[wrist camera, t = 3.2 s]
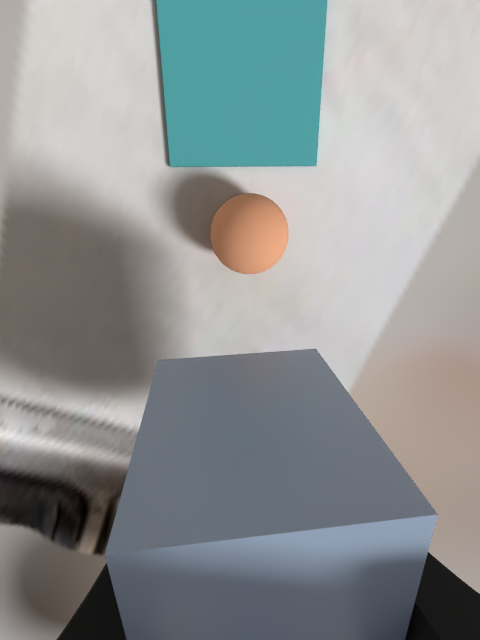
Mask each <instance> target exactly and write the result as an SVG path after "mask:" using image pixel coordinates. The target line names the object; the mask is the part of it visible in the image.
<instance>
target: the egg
mask: <svg viewBox="0 0 480 640" xmlns="http://www.w3.org/2000/svg"><path fill="white" fill-rule="evenodd" d="M210 238H211V244H212V247H213V250H214V252H215V254H216V256H217V257H218V259H219V260H220V261H221V262H222V263H223V264H224V265H225V266H226V267H228V268H229V269H231V270H233V271H235V272H239V273H243V274H256V273H260V272H263V271H265V270H267V269H269V268H270V267H272V266H273V265H274V264H275V263H277V261H278V260H279V259H280V258H281V256H282V255H283V253H284V251H285V249H286V246H287V242H288V225H287V221H286V218H285V216H284V214H283V212H282V210H281V209H280V208H279V207H278V205H277V204H275V203H274V202H273V201H272V200H270V199H269V198H267V197H265V196H262V195H259V194H253V193H246V194H240V195H237V196H235V197H232V198H231V199H229V200H228V201H226V202H225V203H224V204H223V205H222V206H221V207H220V208H219V209H218V211H217V212H216V214H215V216H214V218H213V221H212V224H211V230H210Z"/></svg>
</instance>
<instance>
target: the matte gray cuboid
mask: <svg viewBox="0 0 480 640" xmlns="http://www.w3.org/2000/svg"><path fill="white" fill-rule="evenodd" d="M437 515H438V514H437V513H436V511H435V510H434V509H433V508H432V506H431V505H430V503H429V502H428V500H427V499H426V498H425V496H424V495H423V494H422V492H421V491H420V490H419V488H418V487H417V486H416V484H415V483H414V481H413V480H412V479H411V477H410V476H409V475H408V473H407V472H406V471H405V469H404V468H403V467H402V465H401V464H400V462H399V461H398V460H397V459H396V457H395V456H394V454H393V453H392V452H391V450H390V449H389V448H388V446H387V445H386V444H385V442H384V441H383V439H382V438H381V437H380V435H379V434H378V433H377V432H376V430H375V429H374V427H373V426H372V424H371V423H370V422H369V420H368V419H367V418H366V416H365V415H364V414H363V412H362V411H361V410H360V408H359V407H358V406H357V404H356V403H355V401H354V400H353V399H352V397H351V396H350V395H349V393H348V392H347V391H346V389H345V388H344V386H343V385H342V384H341V382H340V381H339V380H338V378H337V377H336V376H335V374H334V373H333V372H332V370H331V369H330V367H329V366H328V365H327V363H326V362H325V361H324V359H323V358H322V357H321V355H320V354H319V353H318V351H317V350H316V349H307V350H293V351H279V352H266V353H252V354H238V355H224V356H210V357H196V358H182V359H168V360H158V364H157V367H156V371H155V375H154V378H153V382H152V385H151V389H150V393H149V396H148V400H147V404H146V407H145V411H144V414H143V418H142V422H141V425H140V429H139V433H138V436H137V440H136V443H135V447H134V451H133V454H132V458H131V461H130V465H129V469H128V472H127V476H126V480H125V483H124V487H123V490H122V494H121V498H120V501H119V505H118V509H117V512H116V516H115V519H114V523H113V527H112V530H111V534H110V537H109V541H108V545H107V548H106V552H105V558H106V562H107V566H108V570H109V573H110V577H111V581H112V585H113V589H114V593H115V597H116V601H117V604H118V608H119V612H120V616H121V620H122V624H123V628H124V631H125V635H126V639H127V640H405V637H406V634H407V630H408V626H409V622H410V618H411V615H412V611H413V607H414V603H415V599H416V596H417V592H418V588H419V584H420V580H421V577H422V573H423V569H424V565H425V561H426V558H427V554H428V550H429V546H430V542H431V539H432V535H433V531H434V527H435V523H436V519H437Z"/></svg>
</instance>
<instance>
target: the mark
mask: <svg viewBox="0 0 480 640" xmlns="http://www.w3.org/2000/svg"><path fill="white" fill-rule="evenodd" d="M156 3H157V15H158V27H159V40H160V52H161V64H162V76H163V88H164V100H165V112H166V124H167V136H168V148H169V160H170V167H236V166H316V163H317V148H318V132H319V117H320V102H321V87H322V72H323V56H324V41H325V26H326V11H327V0H156Z"/></svg>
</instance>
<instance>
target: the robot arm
mask: <svg viewBox="0 0 480 640" xmlns="http://www.w3.org/2000/svg"><path fill="white" fill-rule="evenodd" d="M57 640H127V639H126V635H125V631H124V628H123V624H122V620H121V616H120V612H119V608H118V604H117V601H116V597H115V593H114V589H113V585H112V581H111V577H110V573H109V570H108V566H107V563H106V565H105V566H104V568H103V570H102V571H101V573H100V575H99V577H98V578H97V580H96V581H95V583H94V585H93V586H92V588H91V590H90V591H89V593H88V594H87V596H86V597H85V599H84V601H83V602H82V604H81V605H80V607H79V608H78V610H77V611H76V613H75V614H74V615H73V617H72V619H71V620H70V621H69V623H68V624H67V626H66V628H65V629H64V630H63V632H62V633H61V634H60V636H59V637H58V638H57ZM405 640H480V594H479V593H478V592H476V591H475V590H473V589H472V588H471V587H470V586H468V585H467V584H466V583H465V582H463V581H462V580H461V579H460V578H458V577H457V576H456V575H455V574H453V573H452V572H451V571H450V570H449V569H447V568H446V567H445V566H444V565H443V564H442V563H440V562H439V561H438V560H437V559H436V558H435V557H433V556H432V555H431V554H430V553H429V552H428V554H427V558H426V561H425V565H424V569H423V573H422V577H421V580H420V584H419V588H418V592H417V596H416V599H415V603H414V607H413V611H412V615H411V618H410V622H409V626H408V630H407V634H406V637H405Z"/></svg>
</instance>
